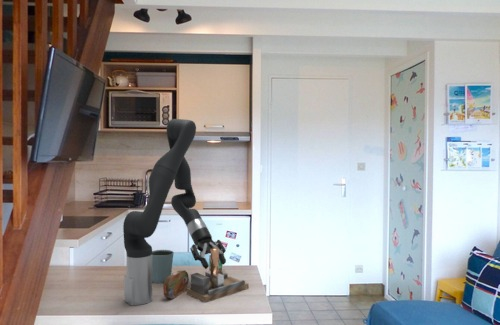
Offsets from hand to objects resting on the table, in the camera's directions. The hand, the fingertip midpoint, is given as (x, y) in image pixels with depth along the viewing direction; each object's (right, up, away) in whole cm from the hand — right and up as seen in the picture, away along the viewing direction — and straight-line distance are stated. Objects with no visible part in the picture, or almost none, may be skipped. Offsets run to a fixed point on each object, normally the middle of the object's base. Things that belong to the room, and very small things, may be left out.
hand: (215, 265), depth 151 cm
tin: (-15, -11, -1) cm, 19 cm away
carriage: (-1, -8, +1) cm, 9 cm away
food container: (-1, -10, +24) cm, 26 cm away
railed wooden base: (+1, -11, +2) cm, 11 cm away
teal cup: (-25, -11, +15) cm, 31 cm away
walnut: (-3, -9, -2) cm, 10 cm away
